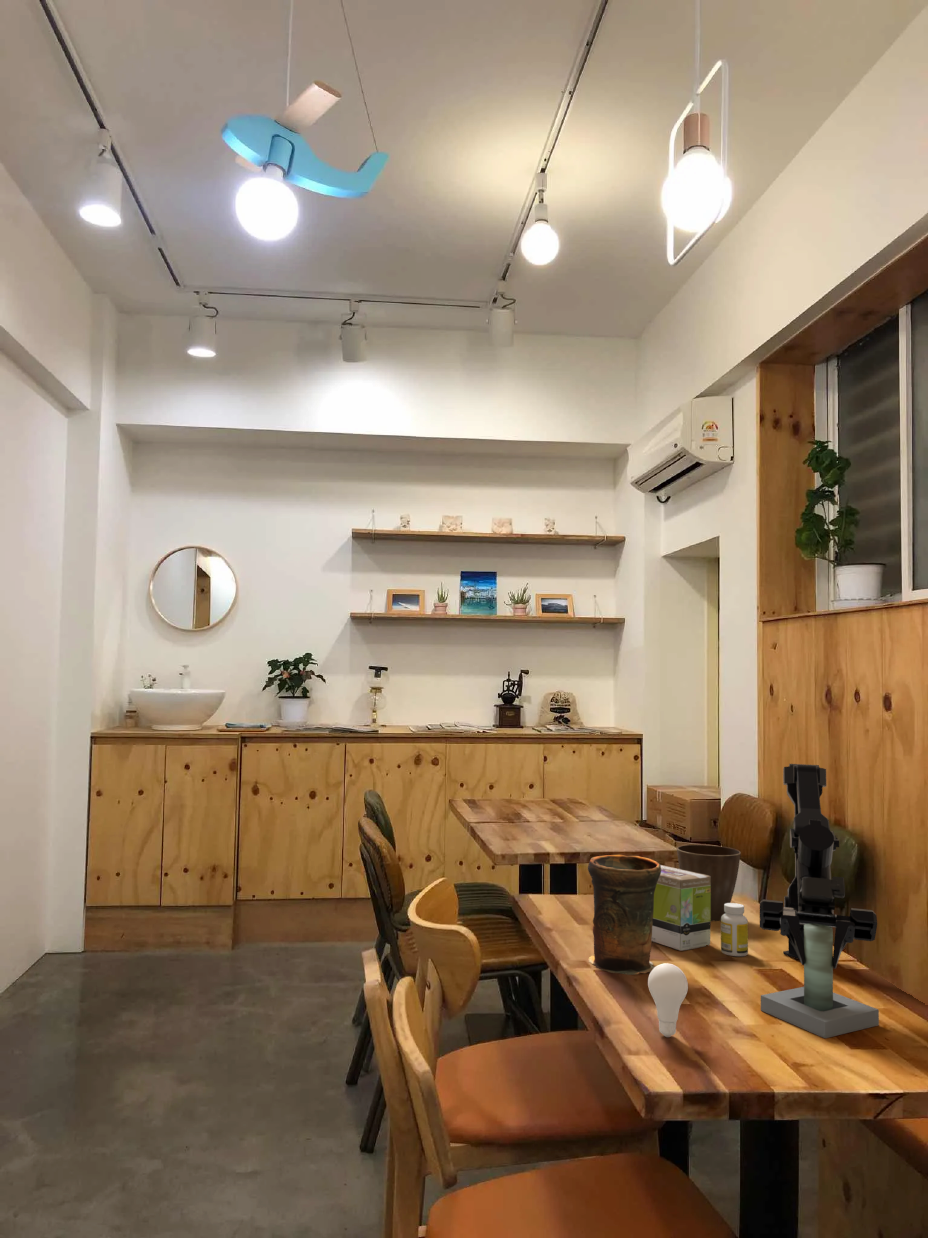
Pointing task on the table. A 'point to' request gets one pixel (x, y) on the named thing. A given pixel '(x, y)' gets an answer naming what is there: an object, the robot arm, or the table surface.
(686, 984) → the lightbulb
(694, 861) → the plant pot
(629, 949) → the vessel
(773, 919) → the robot arm
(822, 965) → the peg
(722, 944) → the supplement bottle
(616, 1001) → the table surface
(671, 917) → the tea box
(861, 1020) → the holder board
